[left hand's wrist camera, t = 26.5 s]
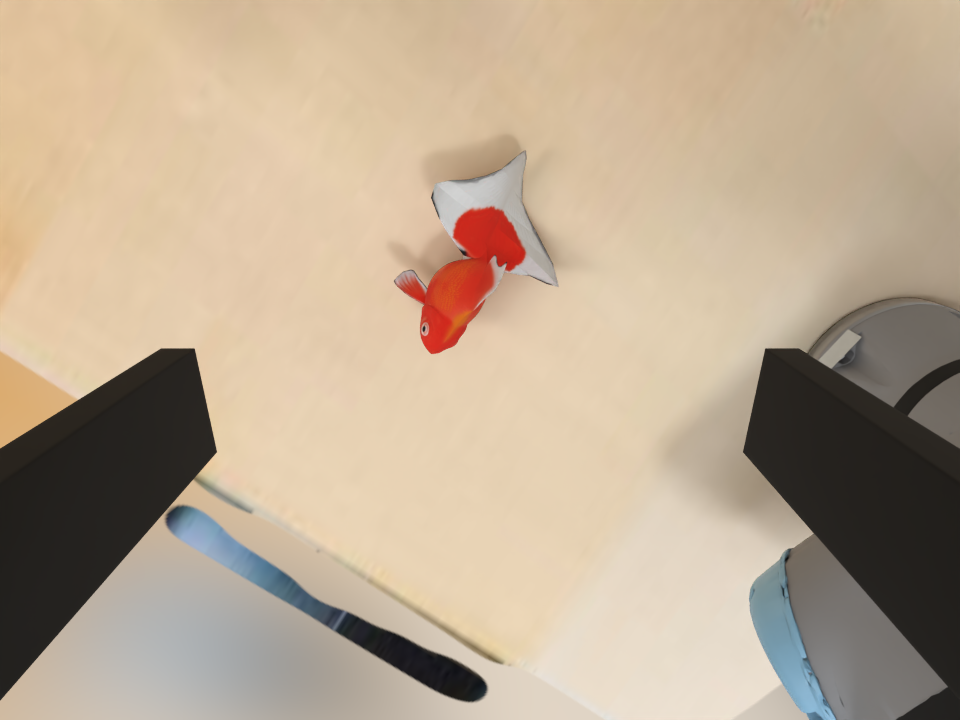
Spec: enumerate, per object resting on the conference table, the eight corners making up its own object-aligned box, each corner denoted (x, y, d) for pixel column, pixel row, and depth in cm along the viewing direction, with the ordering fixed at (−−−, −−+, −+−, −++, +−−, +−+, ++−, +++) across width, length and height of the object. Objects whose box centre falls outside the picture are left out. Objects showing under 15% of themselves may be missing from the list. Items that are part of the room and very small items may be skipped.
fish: (330, 272, 39) (381, 294, 31) (460, 122, 41) (540, 106, 33) (424, 356, 45) (487, 393, 37) (533, 222, 47) (615, 228, 39)
